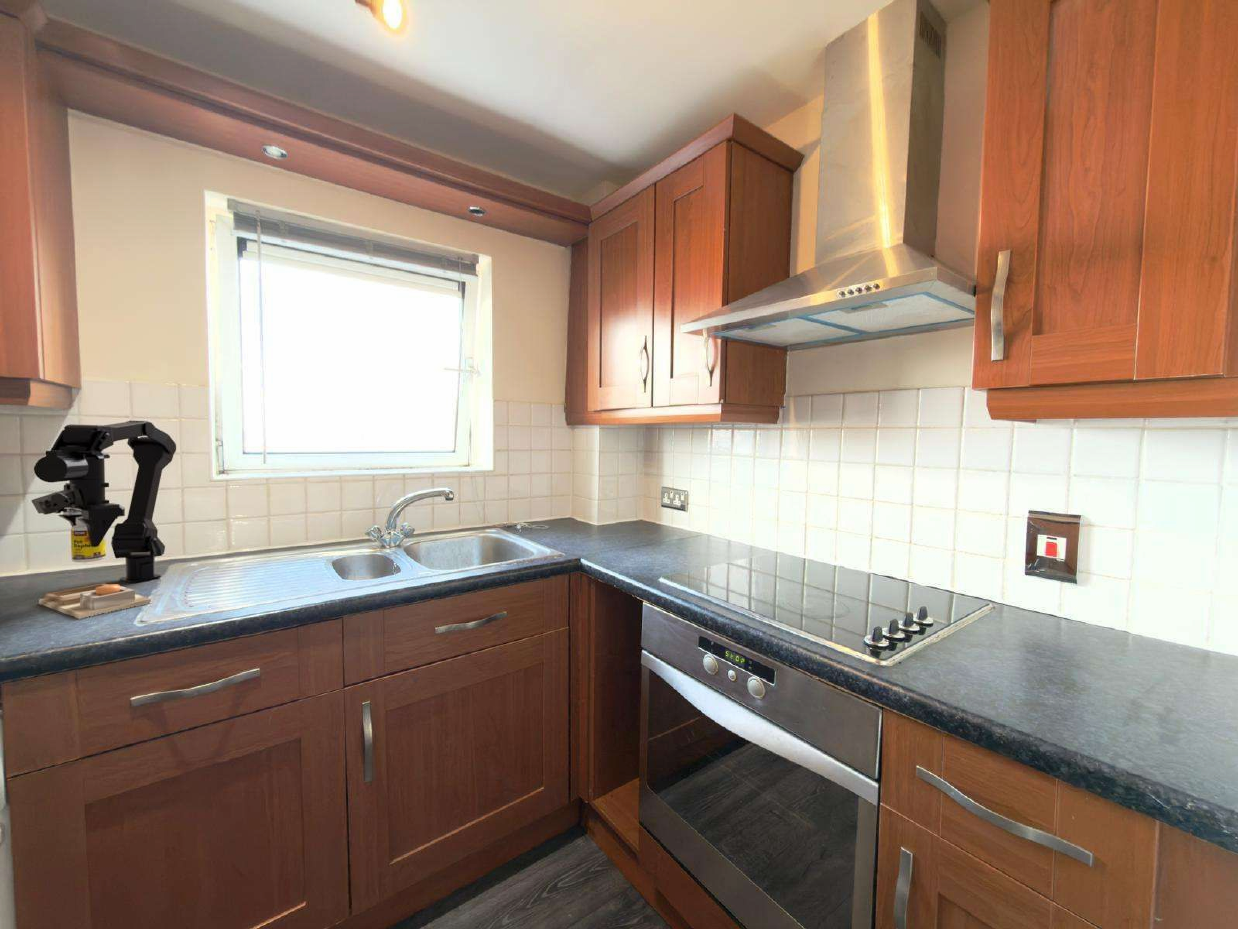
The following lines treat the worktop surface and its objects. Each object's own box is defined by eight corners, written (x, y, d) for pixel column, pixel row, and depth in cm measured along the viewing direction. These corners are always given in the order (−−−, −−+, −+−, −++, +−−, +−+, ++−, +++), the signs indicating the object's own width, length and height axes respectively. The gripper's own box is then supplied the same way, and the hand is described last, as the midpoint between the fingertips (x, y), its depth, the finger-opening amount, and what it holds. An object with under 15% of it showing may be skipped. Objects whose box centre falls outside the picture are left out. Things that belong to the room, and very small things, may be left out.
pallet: (39, 603, 116) (38, 588, 115) (109, 590, 126) (108, 576, 126) (79, 618, 107) (79, 602, 107) (150, 603, 118) (150, 587, 118)
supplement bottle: (68, 564, 115) (66, 519, 114) (75, 559, 119) (74, 516, 119) (102, 561, 118) (101, 517, 118) (108, 556, 123) (107, 514, 122)
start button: (92, 596, 113) (92, 587, 113) (115, 592, 117) (114, 583, 117) (100, 599, 112) (100, 590, 112) (123, 594, 115) (123, 585, 115)
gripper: (18, 478, 114) (20, 547, 115) (56, 483, 107) (58, 557, 107) (85, 475, 124) (87, 538, 125) (125, 480, 117) (126, 547, 118)
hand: (88, 545), depth 119 cm, fingers closed on supplement bottle, 5 cm apart
